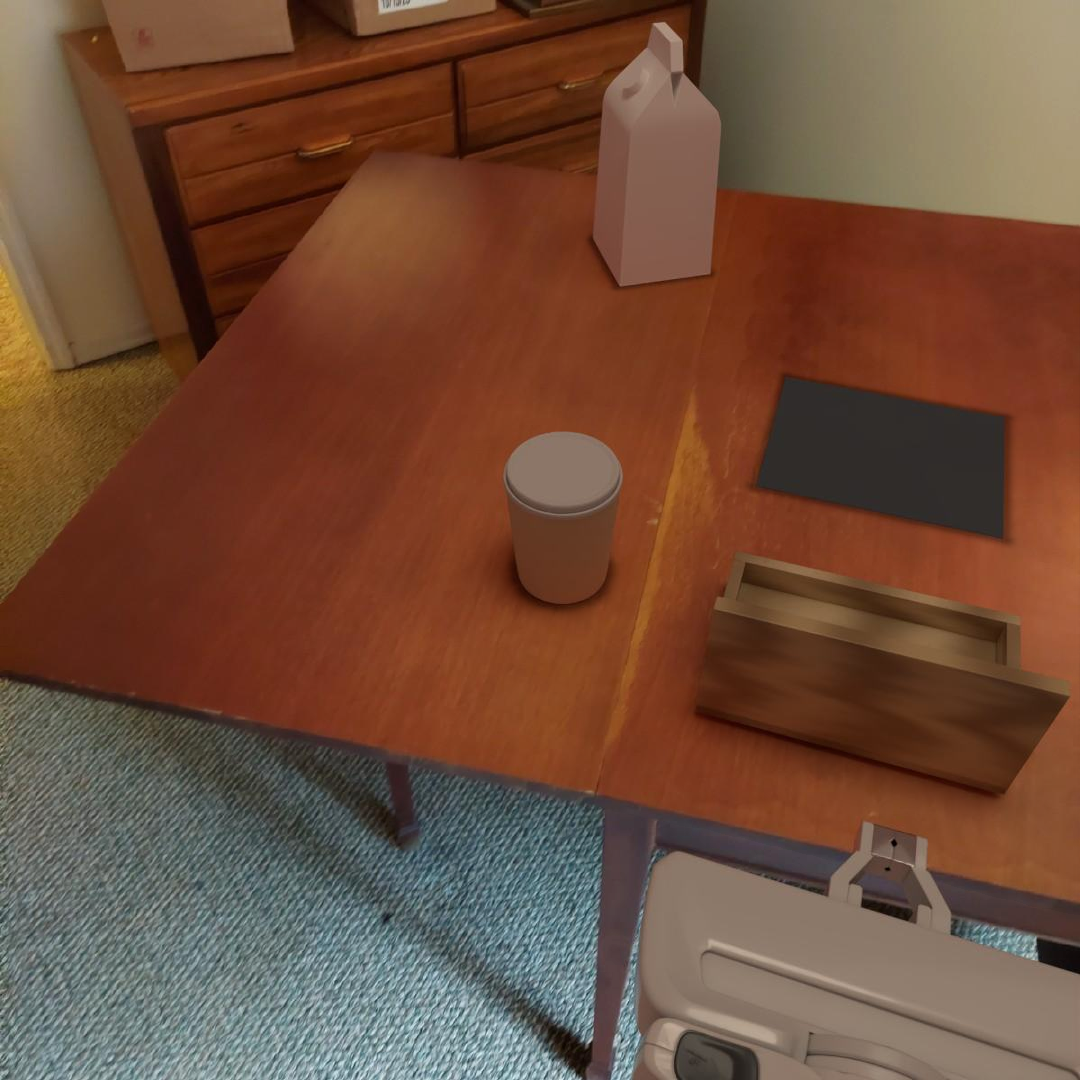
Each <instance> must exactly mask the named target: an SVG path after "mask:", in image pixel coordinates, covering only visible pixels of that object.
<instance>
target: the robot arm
mask: <svg viewBox="0 0 1080 1080" xmlns="http://www.w3.org/2000/svg"><path fill="white" fill-rule="evenodd" d="M928 847H929V840H928V838H926V837H923V836H919V835H916V834H913V833H908V832H905V831H901V830H897V829H894V828H890V827H887V826H884V825H880V824H876V823H874V822H869V821H866V820H861V822H860V823H859V825H858V828H857V830H856V833H855V837H854V841H853V847H852V855H851V856H850V857H849V858H848V859H847V860H846V861H844V863H843V864H841V866H840V867H838V869H837V870H836V871H835V872H834V873H833V874H832V875H831V876H830V877H829V880H828V882H827V884H826V886H825V889H824V891H823V892H822V894H820V893H817V892H814V891H810V890H807V889H804V888H800V887H797V886H794V885H790V884H787V883H784V882H780V881H778V880H774V879H771V878H769V877H765V876H762V875H758V874H755V873H752V872H748V871H745V870H742V869H738V868H735V867H733V866H729V865H727V864H722V863H719V862H717V861H714V860H710V859H707V858H703V857H699V856H696V855H694V854H690V853H688V852H684V851H681V850H680V851H679V850H674V851H671V852H670V853H668V854H667V855H665V856H664V857H662V858H661V859H660V860H658V861H656V862H655V863H654V864H653V866H652V868H651V872H650V876H649V880H648V884H647V890H646V896H645V900H644V904H643V908H642V909H643V911H642V914H641V915H642V917H641V922H640V928H639V936H638V943H637V952H636V959H635V968H634V969H635V970H634V981H633V996H632V997H633V999H632V1000H633V1014H634V1018H635V1024H636V1027H637V1029H638V1032H639V1034H640V1036H641V1038H642V1039H641V1040H640V1043H639V1045H638V1047H637V1051H636V1054H635V1057H634V1060H633V1065H632V1070H631V1078H630V1080H1080V974H1079V973H1077V972H1073V971H1069V970H1067V969H1064V968H1060V967H1057V966H1053V965H1050V964H1047V963H1043V962H1041V961H1038V960H1034V959H1031V958H1028V957H1024V956H1022V955H1018V954H1014V953H1011V952H1008V951H1005V950H1002V949H998V948H995V947H992V946H990V945H987V944H982V943H979V942H977V941H974V940H973V941H972V940H970V939H966V938H963V937H960V936H957V935H953V934H951V930H952V912H951V909H950V908H949V905H948V903H946V900H945V898H944V897H943V895H942V893H941V891H940V889H939V887H938V886H937V883H936V882H935V880H934V878H933V876H932V874H931V872H930V871H928V870H927V866H928V865H927V863H928V862H927V861H928V851H929V850H928ZM866 874H867V875H872V876H875V877H878V878H882V879H885V880H888V881H891V882H895V883H898V884H900V886H901V889H902V890H903V893H904V895H905V897H906V900H907V902H908V904H909V907H910V909H911V911H912V914H911V915H910V917H909V919H908V920H904V919H901V918H898V917H895V916H892V915H888V914H884V913H882V912H879V911H875V910H871V909H868V908H865V907H862V902H863V901H862V900H863V891H864V890H863V887H862V886H861V885H859V884H858V885H857V883H858V882H859V881H860V880H861V879H862V878H863V876H865V875H866Z"/></svg>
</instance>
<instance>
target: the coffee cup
mask: <svg viewBox="0 0 1080 1080" xmlns="http://www.w3.org/2000/svg"><path fill="white" fill-rule="evenodd" d="M502 473H503V474H502V475H503V476H502V479H503V486H504V490H505V492H506V501H507V507H508V514H509V522H510V530H511V537H512V542H513V543H512V544H513V550H514V557H515V563H516V564H515V565H516V570H517V575H518V578H519V581H520V583H521V585H522V586H523V587H524V589H525V590H526V591H527V592H528V593H529V594H531V595H532V596H533V597H535V598H536V599H539V600H541V601H542V602H546V603H550V604H555V605H570V604H576V603H580V602H582V601H585V600H587V599H589V598H591V597H592V596H593V595H595V594H596V593H597V592H598V591H599V590H600V589H601V588H602V586H603V584H604V583H605V581H606V577H607V574H608V569H609V563H610V556H611V551H612V546H613V539H614V533H615V525H616V519H617V513H618V506H619V500H620V499H619V497H620V493H621V490H622V486H623V483H624V482H623V481H624V474H623V467H622V465H621V463H620V461H619V460H618V457H617V455H616V454H615V453H614V451H613V450H612V449H611V448H610V447H609V446H608V445H606V444H605V443H604V442H602V441H601V440H599V439H598V438H595V437H593V436H590V435H587V434H585V433H581V432H574V431H551V432H546V433H542V434H537V435H535V436H533V437H531V438H528V439H527V440H525V441H524V442H522V443H521V444H520V445H519V446H517V447H516V448H515V449H514V450H513V452H512V453H511V454H510V456H509V458H508V459H507V462H506V463H505V466H504V468H503V472H502Z"/></svg>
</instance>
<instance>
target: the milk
mask: <svg viewBox="0 0 1080 1080" xmlns="http://www.w3.org/2000/svg"><path fill="white" fill-rule="evenodd" d="M683 41H684V40H683V39H682V38H680V36H679V35H678V34H677V33H676V32H675V31H674V30H673V29H672V28H671V27H670V26H669V25H668V23H666V22H665V21H663V22H662V21H661V22H653V23H652V25H651V30H650V34H649V37H648V42H647V47H645V48H644V49H643V50H642V52H640V53H639V54H638V55H637V56H636V57H635V58H634V59H633V60H632V61H631V62H630V63H629V64H628V65H627V66H626V67H625V68H624V69H622V71H621V72H620V73H619V74H618V75H617V76H616V77H615V78H614V79H613V80H612V81H611V82H610V83H609V85H608V87H607V88H606V90H605V92H604V94H603V100H602V109H601V122H600V135H599V137H600V138H599V148H598V149H599V150H598V165H597V174H596V175H597V178H596V190H595V204H594V217H593V232H592V240H593V242H594V243H595V246H596V247H597V249H598V250H599V252H600V254H601V256H602V258H603V260H604V262H605V263H606V265H607V266H608V268H609V270H610V272H611V274H612V276H613V277H614V279H615V281H616V283H617V285H618V286H619V288H621V287H628V286H634V285H642V284H649V283H655V282H663V281H670V280H671V281H672V280H679V279H686V278H693V277H700V276H707V275H711V273H712V256H713V243H714V233H715V232H714V230H715V218H716V217H715V216H716V203H717V191H718V190H717V188H718V176H719V163H720V149H721V134H722V121H721V118H720V114H719V111H718V110H717V109H716V108H715V106H714V105H713V104H712V103H711V102H710V101H709V100H708V99H707V98H706V97H705V95H704V94H703V93H702V92H701V91H700V90H699V89H698V87H697V86H696V85H695V84H694V83H693V82H692V81H691V80H690V79H689V77H688V76H687V75H686V74H685V73H684V47H683V46H684V44H683V43H684V42H683Z"/></svg>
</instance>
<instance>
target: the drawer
mask: <svg viewBox="0 0 1080 1080" xmlns="http://www.w3.org/2000/svg"><path fill="white" fill-rule="evenodd" d="M732 560H733V561H732V563H731V568H730V571H729V573H728V574H729V575H728V579H727V581H726V585H725V589H724V593H723V596H719V595H718V596H716V598H715V602H714V604H713V609H712V614H711V620H710V625H709V631H708V635H707V642H706V645H705V646H706V647H705V652H704V657H703V663H702V669H701V674H700V680H699V684H698V689H697V695H696V700H695V706H694V711H695V712H697V713H698V712H699V713H701V714H705V715H709V716H713V717H716V718H720V719H723V720H728V721H731V722H735V723H738V724H742V725H746V726H749V727H753V728H757V729H760V730H764V731H767V732H771V733H775V734H779V735H782V736H786V737H789V738H793V739H796V740H801V741H804V742H808V743H811V744H815V745H820V746H824V747H827V748H831V749H834V750H838V751H841V752H844V753H849V754H852V755H856V756H860V757H863V758H867V759H871V760H875V761H878V762H881V763H886V764H888V765H892V766H897V767H899V768H900V767H901V768H904V769H908V770H912V771H915V772H919V773H921V774H922V773H923V774H926V775H928V776H929V775H930V776H932V777H936V778H940V779H945V780H948V781H951V782H955V783H960V784H963V785H967V786H970V787H974V788H977V789H981V790H983V791H984V790H985V791H989V792H992V793H996V794H1000V795H1005V794H1006V793H1007V791H1008V790H1009V788H1010V787H1011V785H1012V784H1013V782H1014V781H1015V779H1016V778H1017V776H1018V775H1019V774H1020V771H1021V770H1022V769H1023V767H1024V766H1025V764H1026V763H1027V761H1028V760H1029V759H1030V757H1031V756H1032V754H1033V753H1034V751H1035V750H1036V748H1037V747H1038V745H1039V744H1040V742H1041V741H1042V739H1043V738H1044V737H1045V735H1046V733H1047V732H1048V730H1049V729H1050V728H1051V726H1052V724H1053V723H1054V721H1056V718H1057V717H1058V716H1059V714H1060V712H1061V711H1062V709H1064V706H1065V705H1066V704H1067V702H1068V701H1069V699H1070V698H1071V682H1070V680H1066V679H1061V678H1057V677H1054V676H1049V675H1044V674H1042V673H1036V672H1033V671H1029V670H1025V669H1022V655H1021V653H1022V651H1021V650H1022V649H1021V646H1022V645H1021V643H1022V642H1021V641H1022V639H1021V631H1022V630H1021V626H1022V625H1021V624H1022V622H1021V618H1022V617H1021V615H1016V614H1013V613H1008V612H1004V611H999V610H995V609H992V608H991V609H990V608H986V607H983V606H982V607H981V606H979V605H975V604H974V605H973V604H969V603H965V602H961V601H956V600H951V599H948V598H943V597H938V596H934V595H931V594H927V593H926V594H925V593H921V592H917V591H912V590H909V589H903V588H899V587H895V586H891V585H887V584H883V583H877V582H873V581H869V580H866V579H865V580H864V579H860V578H855V577H851V576H847V575H843V574H839V573H833V572H829V571H825V570H821V569H817V568H812V567H808V566H803V565H799V564H795V563H790V562H787V561H783V560H777V559H774V558H769V557H765V556H760V555H755V554H751V553H748V552H743V551H739V550H735V553H734V556H733V559H732Z"/></svg>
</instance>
